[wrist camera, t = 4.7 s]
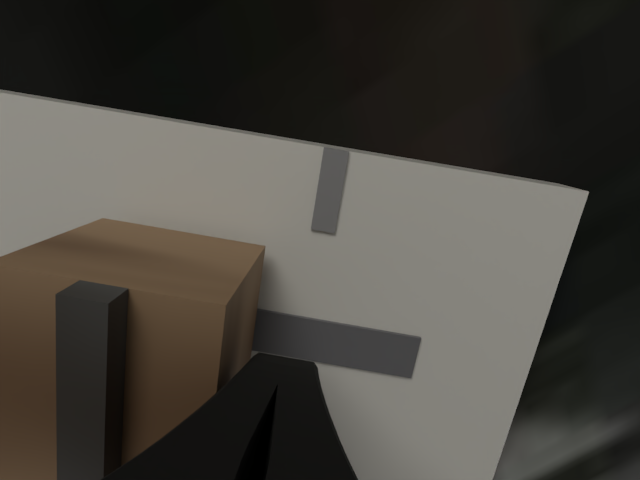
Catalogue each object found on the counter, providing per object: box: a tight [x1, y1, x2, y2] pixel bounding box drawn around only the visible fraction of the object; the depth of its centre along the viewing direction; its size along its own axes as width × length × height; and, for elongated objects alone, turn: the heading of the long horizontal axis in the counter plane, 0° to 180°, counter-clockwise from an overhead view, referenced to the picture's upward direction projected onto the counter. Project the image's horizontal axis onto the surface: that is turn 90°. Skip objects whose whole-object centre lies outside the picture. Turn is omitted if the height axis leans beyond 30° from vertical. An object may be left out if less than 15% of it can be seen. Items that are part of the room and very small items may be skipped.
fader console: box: [0, 90, 589, 480], centre depth 12 cm, size 10×28×2 cm, turn 81°
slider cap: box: [0, 218, 265, 480], centre depth 9 cm, size 5×4×4 cm
